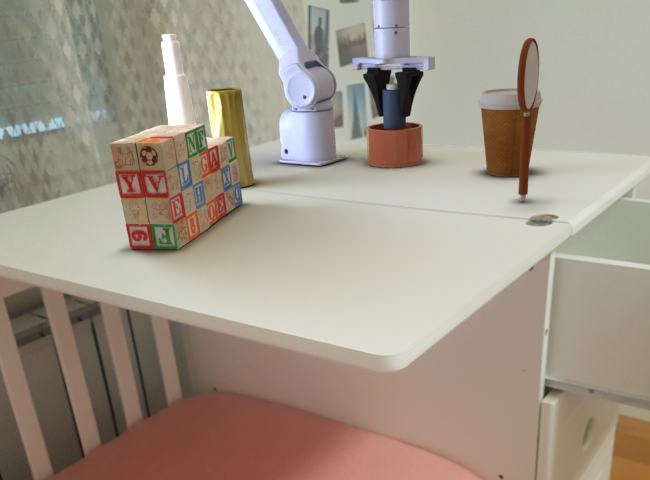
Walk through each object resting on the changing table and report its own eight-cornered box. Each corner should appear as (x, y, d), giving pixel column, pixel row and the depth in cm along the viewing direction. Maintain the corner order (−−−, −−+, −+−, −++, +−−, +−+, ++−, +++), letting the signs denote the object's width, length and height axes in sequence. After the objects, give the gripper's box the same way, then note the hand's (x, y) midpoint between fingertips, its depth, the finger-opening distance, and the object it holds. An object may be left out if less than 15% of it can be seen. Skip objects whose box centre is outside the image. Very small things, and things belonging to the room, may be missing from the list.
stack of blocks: (202, 203, 102) (189, 114, 97) (243, 203, 101) (232, 112, 96) (129, 249, 83) (108, 141, 78) (178, 250, 82) (160, 140, 77)
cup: (357, 165, 122) (355, 129, 119) (386, 155, 129) (385, 121, 126) (405, 169, 117) (404, 131, 114) (432, 159, 124) (432, 123, 121)
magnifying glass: (521, 210, 91) (529, 39, 82) (508, 209, 92) (514, 40, 83) (536, 194, 98) (544, 35, 89) (523, 193, 99) (531, 36, 90)
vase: (220, 181, 116) (208, 87, 110) (257, 179, 115) (247, 86, 109) (212, 189, 110) (198, 92, 104) (251, 188, 110) (240, 90, 104)
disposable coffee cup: (486, 165, 117) (489, 87, 112) (545, 167, 113) (550, 87, 108) (468, 177, 109) (469, 94, 104) (530, 180, 105) (534, 95, 100)
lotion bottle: (379, 129, 120) (377, 85, 117) (391, 125, 123) (389, 82, 120) (398, 130, 118) (397, 85, 115) (410, 126, 121) (409, 82, 118)
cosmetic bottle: (205, 172, 123) (185, 32, 113) (212, 178, 117) (191, 33, 108) (170, 176, 121) (146, 35, 111) (174, 183, 116) (151, 35, 106)
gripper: (340, 30, 115) (345, 118, 120) (418, 27, 107) (420, 121, 113) (364, 28, 120) (367, 112, 126) (441, 25, 112) (441, 115, 118)
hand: (394, 116), depth 120 cm, fingers closed on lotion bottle, 4 cm apart
